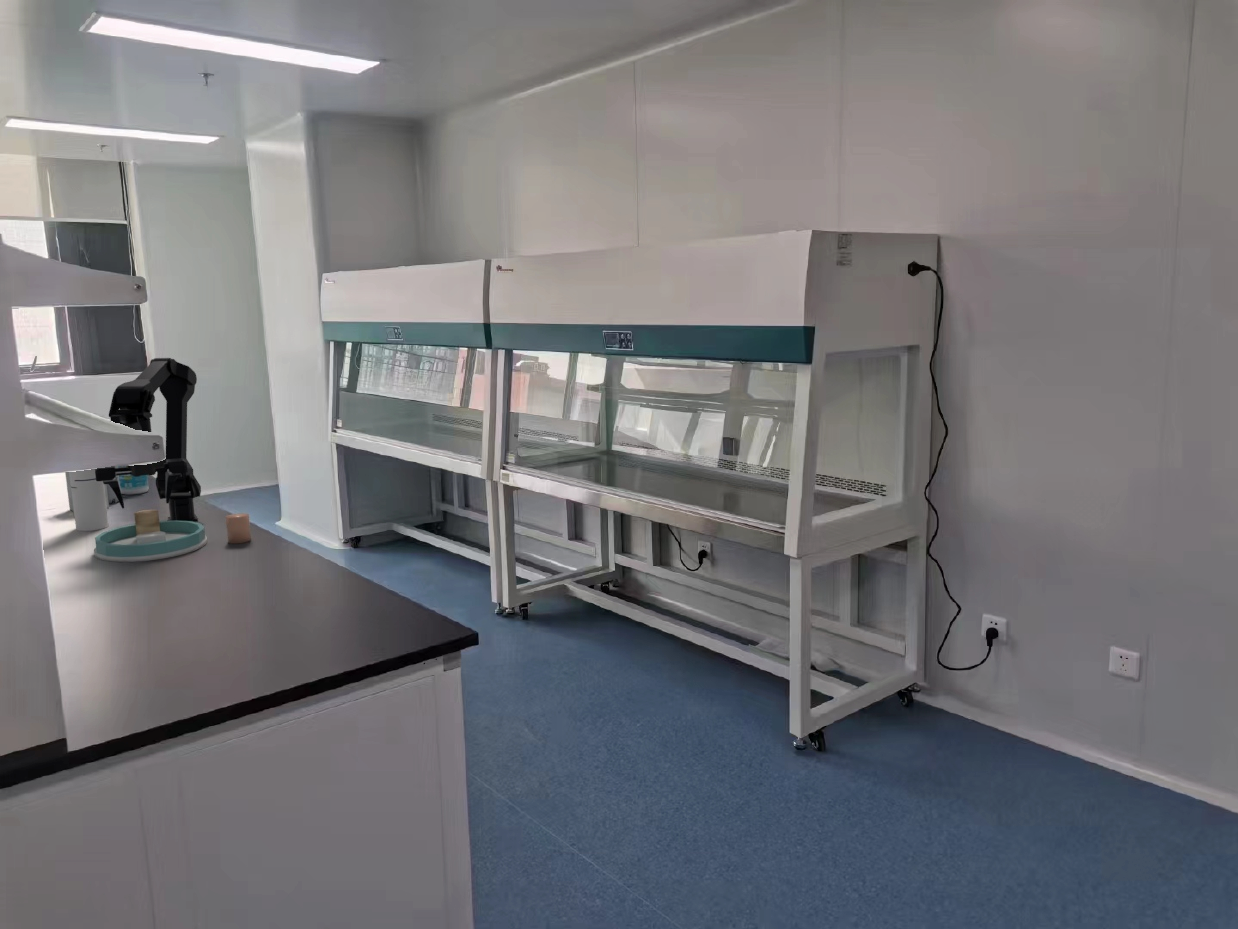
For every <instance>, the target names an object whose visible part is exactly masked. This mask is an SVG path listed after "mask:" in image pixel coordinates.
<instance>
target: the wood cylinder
mask: <svg viewBox="0 0 1238 929" xmlns="http://www.w3.org/2000/svg"><path fill="white" fill-rule="evenodd" d="M133 516H134V523H135V525H136V534H137V535H138V534H141V533H146V532H153V531H160V523H159V521H160V517H159V516H160V515H159V510H158V509H143V510H139V511H135V512H134V513H133Z"/></svg>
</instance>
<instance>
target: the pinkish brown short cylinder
mask: <svg viewBox="0 0 1238 929" xmlns="http://www.w3.org/2000/svg"><path fill="white" fill-rule="evenodd" d="M225 523H226V533H227V543H229V544H243V543H244V544H245V543H247V542H251V541H252V535H251V524H250V523H251V522H250V515H249V513H232V514H228V515H226V516H225Z"/></svg>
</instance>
